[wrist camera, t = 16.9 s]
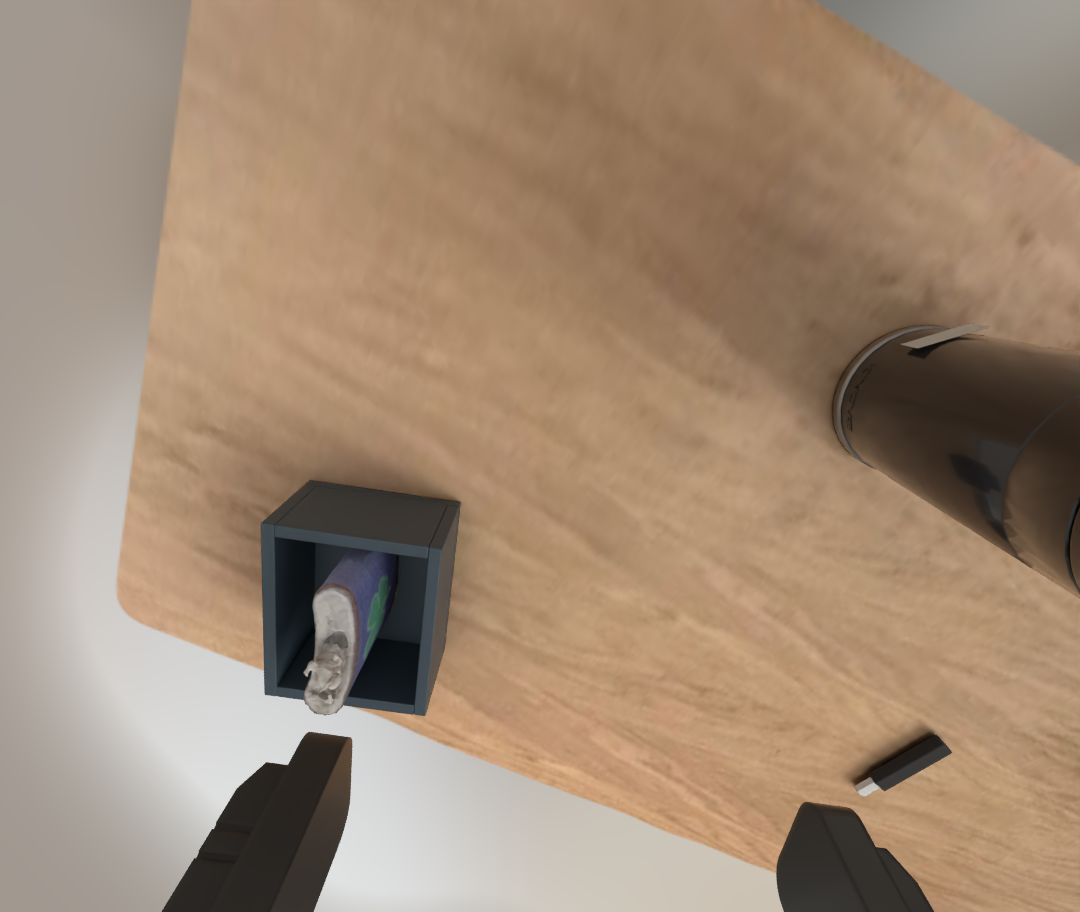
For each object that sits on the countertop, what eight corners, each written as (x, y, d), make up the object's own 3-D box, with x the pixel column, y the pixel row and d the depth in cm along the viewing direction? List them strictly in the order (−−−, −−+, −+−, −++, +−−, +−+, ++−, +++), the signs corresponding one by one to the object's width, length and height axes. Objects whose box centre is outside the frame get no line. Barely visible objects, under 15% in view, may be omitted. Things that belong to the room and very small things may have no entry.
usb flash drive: (857, 793, 45) (849, 781, 46) (867, 801, 46) (859, 789, 46) (944, 744, 43) (934, 732, 44) (952, 753, 44) (943, 741, 45)
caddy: (460, 501, 38) (442, 549, 32) (444, 648, 43) (425, 716, 36) (309, 479, 38) (260, 523, 32) (308, 629, 42) (264, 694, 36)
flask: (364, 513, 38) (296, 604, 28) (406, 521, 38) (354, 614, 28) (353, 622, 41) (287, 740, 31) (391, 629, 41) (339, 749, 31)
